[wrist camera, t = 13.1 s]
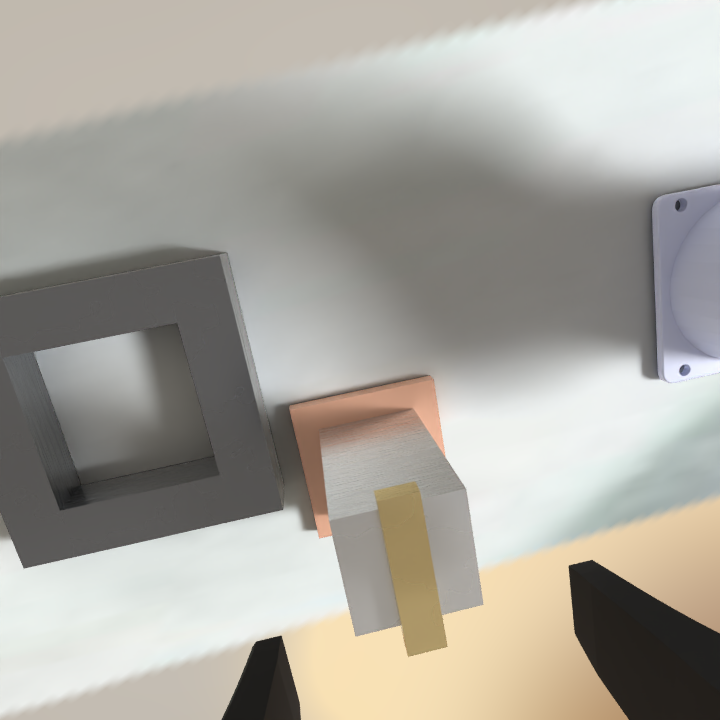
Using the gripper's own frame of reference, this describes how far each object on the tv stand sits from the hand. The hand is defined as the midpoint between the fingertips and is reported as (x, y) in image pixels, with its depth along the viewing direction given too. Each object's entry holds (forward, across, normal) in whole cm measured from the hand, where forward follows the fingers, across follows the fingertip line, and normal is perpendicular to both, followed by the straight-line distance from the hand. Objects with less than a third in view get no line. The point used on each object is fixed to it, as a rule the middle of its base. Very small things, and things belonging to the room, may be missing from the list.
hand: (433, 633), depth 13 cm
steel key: (+10, 0, 0) cm, 10 cm away
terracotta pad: (+10, 0, 0) cm, 10 cm away
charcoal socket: (+10, +9, -4) cm, 14 cm away
